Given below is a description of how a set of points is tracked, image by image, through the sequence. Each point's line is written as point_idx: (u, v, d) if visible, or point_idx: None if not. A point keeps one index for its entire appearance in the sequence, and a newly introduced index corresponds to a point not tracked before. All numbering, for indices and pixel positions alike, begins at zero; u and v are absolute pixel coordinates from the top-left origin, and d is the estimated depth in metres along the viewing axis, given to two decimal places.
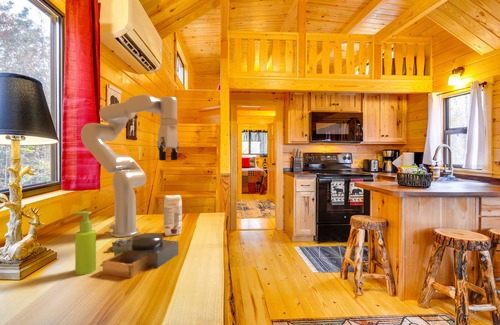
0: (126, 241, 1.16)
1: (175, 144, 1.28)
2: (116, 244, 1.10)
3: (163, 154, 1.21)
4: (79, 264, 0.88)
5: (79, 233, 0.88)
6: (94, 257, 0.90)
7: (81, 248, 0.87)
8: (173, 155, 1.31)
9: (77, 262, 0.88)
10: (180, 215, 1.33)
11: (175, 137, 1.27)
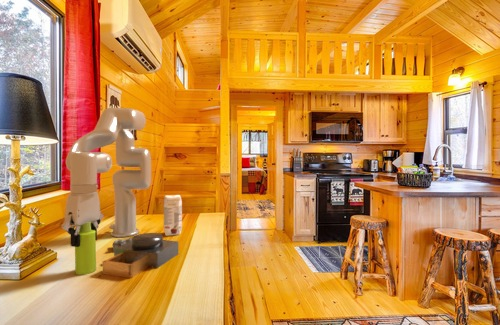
0: (125, 241, 1.15)
1: (95, 217, 0.92)
2: (117, 244, 1.09)
3: (75, 238, 0.86)
4: (79, 264, 0.87)
5: (79, 233, 0.88)
6: (94, 257, 0.90)
7: (81, 248, 0.87)
8: None
9: (77, 262, 0.88)
10: (180, 215, 1.33)
11: (94, 207, 0.91)
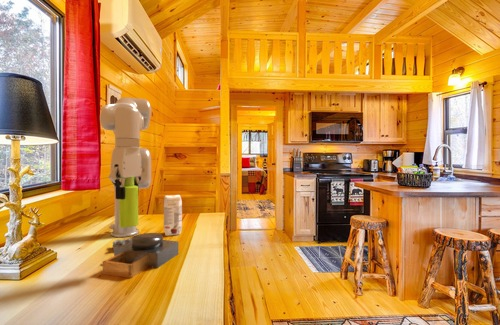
0: (124, 241, 1.15)
1: (137, 172, 0.93)
2: (118, 245, 1.09)
3: (121, 191, 0.87)
4: (124, 217, 0.89)
5: (123, 186, 0.89)
6: (137, 211, 0.92)
7: (126, 201, 0.88)
8: None
9: (122, 215, 0.89)
10: (180, 215, 1.33)
11: (137, 163, 0.92)
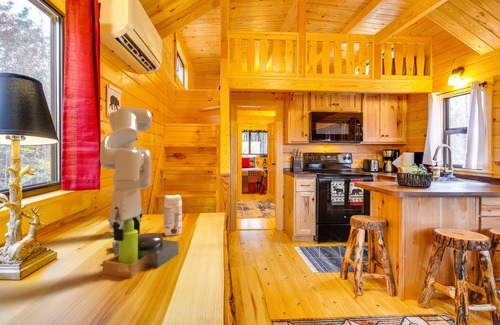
0: None
1: (137, 212, 0.93)
2: None
3: (119, 233, 0.87)
4: None
5: (123, 232, 0.90)
6: (136, 256, 0.92)
7: (125, 247, 0.89)
8: (134, 227, 0.95)
9: (121, 261, 0.89)
10: (180, 215, 1.33)
11: (137, 203, 0.93)
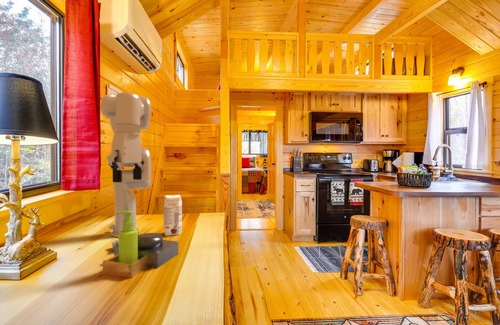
0: None
1: (138, 158, 0.94)
2: None
3: (118, 174, 0.86)
4: None
5: (123, 232, 0.90)
6: (136, 256, 0.92)
7: (125, 247, 0.89)
8: (136, 173, 0.96)
9: (121, 261, 0.89)
10: (180, 215, 1.33)
11: (137, 149, 0.93)
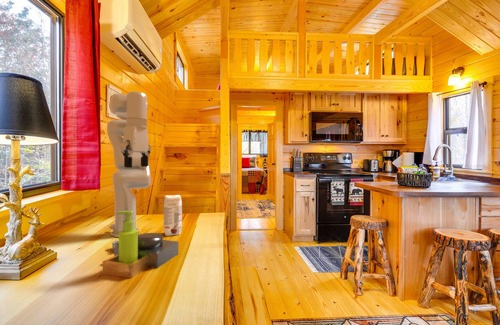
0: None
1: (145, 148, 1.09)
2: None
3: (129, 160, 1.02)
4: None
5: (123, 232, 0.90)
6: (136, 256, 0.92)
7: (125, 247, 0.89)
8: (143, 161, 1.12)
9: (121, 261, 0.89)
10: (180, 215, 1.33)
11: (145, 140, 1.09)
